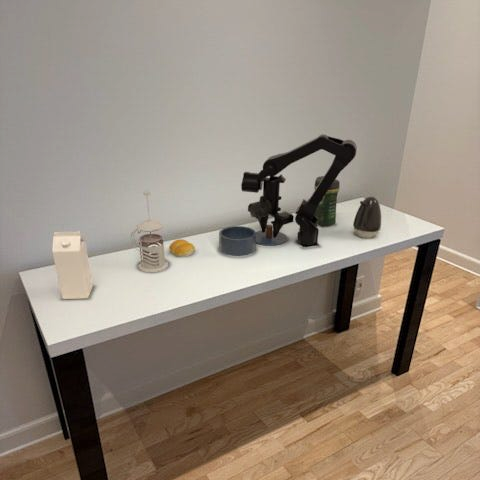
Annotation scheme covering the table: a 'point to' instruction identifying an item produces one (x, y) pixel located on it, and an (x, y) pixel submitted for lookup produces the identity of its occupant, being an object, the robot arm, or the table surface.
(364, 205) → the dark grey rounded figure
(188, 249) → the bread roll
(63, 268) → the milk carton
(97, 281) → the table surface
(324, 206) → the coffee jar
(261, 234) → the pot lid
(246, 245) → the pot
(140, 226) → the french press
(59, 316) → the table surface
